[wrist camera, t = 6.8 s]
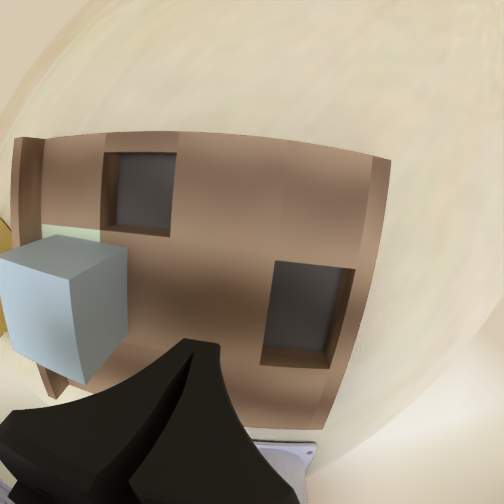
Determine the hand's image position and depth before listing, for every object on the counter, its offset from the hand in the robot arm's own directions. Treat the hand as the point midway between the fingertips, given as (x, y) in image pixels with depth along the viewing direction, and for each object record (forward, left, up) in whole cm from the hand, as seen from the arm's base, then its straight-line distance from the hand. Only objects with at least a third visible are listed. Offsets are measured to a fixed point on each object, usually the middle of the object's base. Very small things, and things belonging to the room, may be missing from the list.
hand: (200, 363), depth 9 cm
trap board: (0, +2, -7) cm, 7 cm away
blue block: (0, +7, -5) cm, 9 cm away
